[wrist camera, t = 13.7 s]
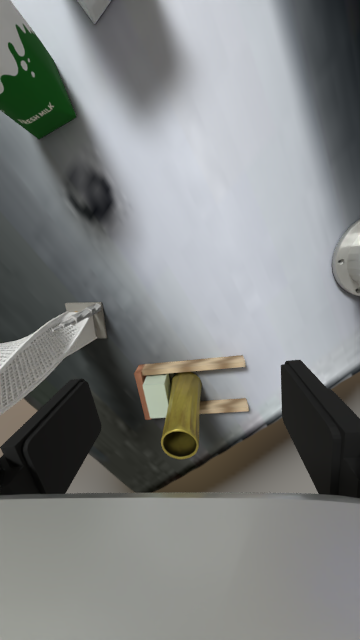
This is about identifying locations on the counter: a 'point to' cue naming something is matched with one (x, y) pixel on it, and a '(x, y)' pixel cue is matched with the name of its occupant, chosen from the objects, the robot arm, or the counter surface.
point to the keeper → (157, 394)
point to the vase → (182, 417)
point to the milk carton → (29, 77)
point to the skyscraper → (46, 350)
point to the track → (189, 366)
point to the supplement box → (94, 8)
